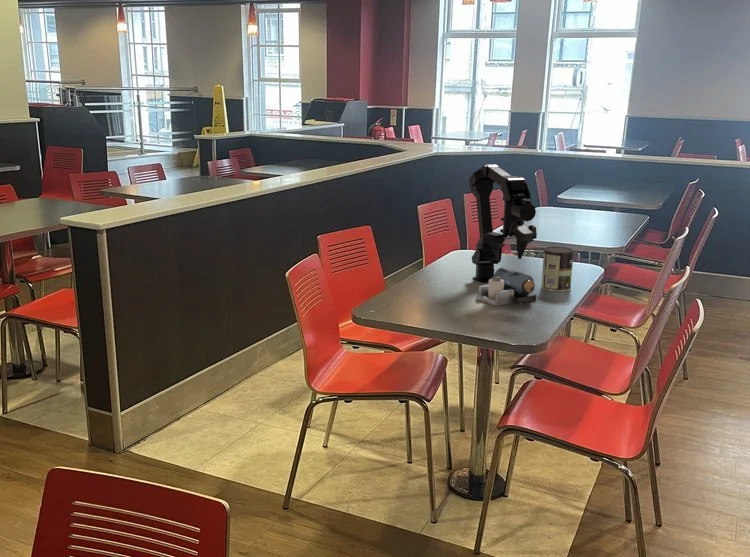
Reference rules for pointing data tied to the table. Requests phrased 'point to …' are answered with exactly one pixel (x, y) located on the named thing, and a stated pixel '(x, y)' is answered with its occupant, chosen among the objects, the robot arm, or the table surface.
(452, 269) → the table surface
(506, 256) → the table surface
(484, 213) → the robot arm
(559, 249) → the coffee can
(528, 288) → the motor
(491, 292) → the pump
